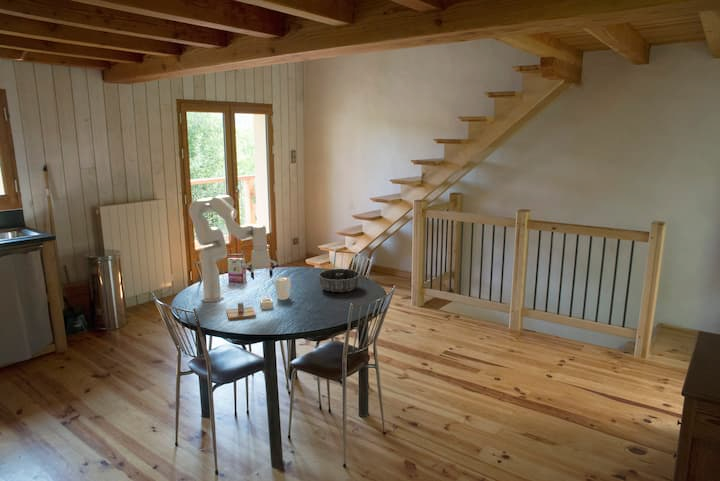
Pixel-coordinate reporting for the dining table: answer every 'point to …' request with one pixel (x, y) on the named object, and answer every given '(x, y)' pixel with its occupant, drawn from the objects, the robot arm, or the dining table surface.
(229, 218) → the robot arm
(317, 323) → the dining table surface
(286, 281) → the cup
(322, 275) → the bundt pan
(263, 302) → the knob
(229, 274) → the candy bar box
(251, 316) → the shaft block
